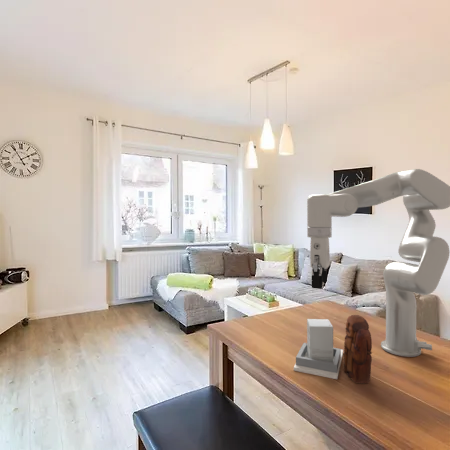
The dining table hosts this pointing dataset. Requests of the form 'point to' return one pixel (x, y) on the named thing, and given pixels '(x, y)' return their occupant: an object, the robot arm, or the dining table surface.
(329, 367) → the caddy
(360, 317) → the wooden figurine
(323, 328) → the supplement box
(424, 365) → the dining table surface
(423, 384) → the dining table surface
